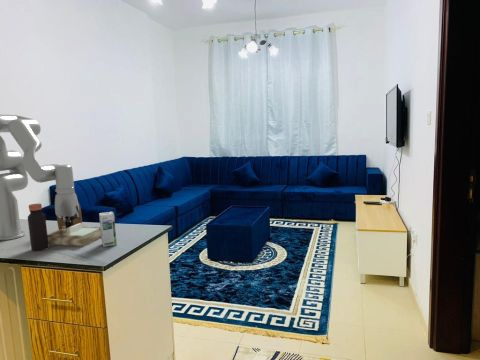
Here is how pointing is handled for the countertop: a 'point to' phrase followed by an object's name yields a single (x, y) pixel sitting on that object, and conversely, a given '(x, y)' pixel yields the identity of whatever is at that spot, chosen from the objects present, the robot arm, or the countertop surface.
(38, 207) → the vinegar
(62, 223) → the block
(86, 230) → the lid
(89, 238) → the puzzle board
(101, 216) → the syrup box
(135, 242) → the countertop surface
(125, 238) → the countertop surface
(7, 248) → the countertop surface
